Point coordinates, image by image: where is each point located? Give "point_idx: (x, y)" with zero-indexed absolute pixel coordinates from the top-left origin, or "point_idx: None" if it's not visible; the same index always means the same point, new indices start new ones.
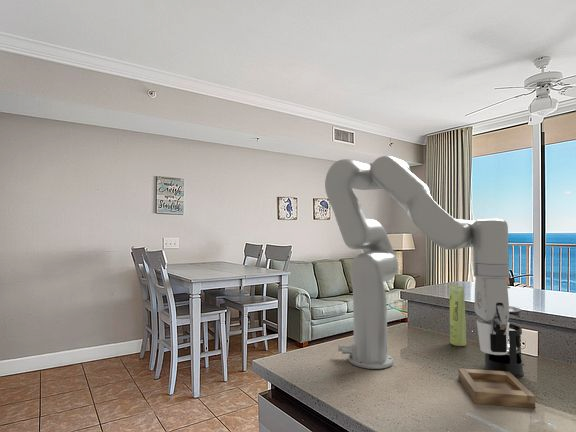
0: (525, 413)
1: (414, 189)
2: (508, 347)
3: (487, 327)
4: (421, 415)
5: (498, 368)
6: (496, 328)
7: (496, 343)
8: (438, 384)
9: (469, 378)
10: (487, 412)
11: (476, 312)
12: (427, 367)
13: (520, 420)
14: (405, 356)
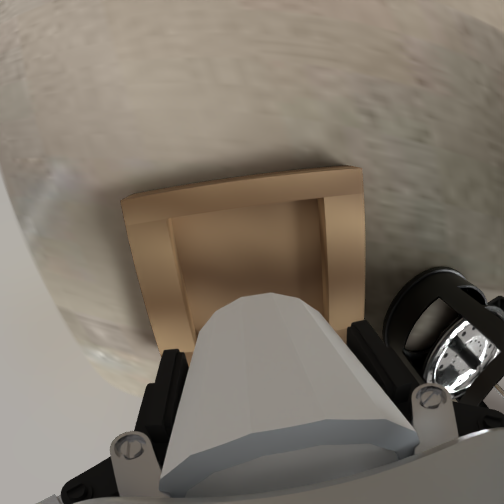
0: (126, 320)
1: None
2: (469, 369)
3: (168, 451)
4: (22, 57)
5: (405, 312)
6: (102, 483)
7: (142, 403)
8: (260, 82)
9: (254, 195)
10: (86, 224)
11: (446, 464)
12: (415, 73)
13: (80, 298)
14: (477, 32)
